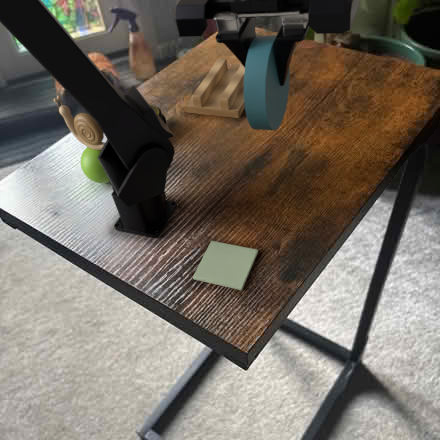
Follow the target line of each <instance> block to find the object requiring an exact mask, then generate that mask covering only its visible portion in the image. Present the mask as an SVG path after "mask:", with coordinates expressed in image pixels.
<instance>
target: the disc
mask: <svg viewBox="0 0 440 440" xmlns="http://www.w3.org/2000/svg"><path fill="white" fill-rule="evenodd" d="M276 36H277V34H266V35H265V34H264V35H263V34H261V35H256V37H255V38H254V39H253V41H252V43H251V45H250V48H249V51H248V55H247V59H246V65H245V72H244V105H245V108H244V111H245V116H246V120H247V122H248V124H249V126H250V127H251V129H253V130H259V131H277V130H278V129H279V128H280V127H281V125H282V123H283V119H284V117H285V114H286V111H287V105H288V100H289V91H290V72H291V69H290V66H289V70H288V74H287V78H286V82H285V84H284V86H280V82H279V78H278V68H277V54H276V41H275V38H276Z"/></svg>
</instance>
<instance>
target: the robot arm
mask: <svg viewBox="0 0 440 440" xmlns="http://www.w3.org/2000/svg"><path fill="white" fill-rule="evenodd" d="M360 1H361V0H179V1H178V3H177V4H176V5H175V7H174V9H173V15H172V16H173V17H172V20H173V24H174V27H175V31H176V34H177V35H178V37H179V38H184V37H186V38H187V37H188V38H189V37H203V34H204V33H205V32H206V30H207V28H208V27H209V24H208V20H213V22H215V24H216V30H217V33H216V35H215V41H216V43H218V44H223V45H225V47H226V48H227V49H228V50H229V51H230V52H231V53H232V54H233V55H234V57H235V58H236V59H237V60H238V61H239V62H240V64H242V65H243V66H244V68H245V65H246V59H247V55H248V51H249V48H250V45H251V43H252V41H253V39H254V38H255V37H256V36H257V33H256V18H280V23H282V24H281V26H280V27H279V30H278V32H277V34H276V35H277V36H276V38H275V41H276V54H277V68H278V78H279V82H280V86H284V84H285V82H286V78H287V74H288V70H289V67H290V65H291V62H292V57H293V53H294V50H295V46H296V44H297V43H300V42H303V41H304V40H305V39H306V37H307V35H308V32H309V30H310V29H311V30H312V31H314V33H315V34H317V35H322V34H323V35H324V34H325V35H326V34H327V35H328V34H330V35H331V34H344V33H347V32H349V31H351V29H352V26H353V24H354V20H355V18H356V16H357V12H358V8H359V5H360ZM0 24H1V25H2V26H3V27H4V28H5V29H6V30H7V31H8V32H9V33H10V34H11V35H12V36H13V37H14V39H15V40H16V41H18V43H20V45H21V46H22V47H24V49H25V50H26V51H27V52H28V53H29V54H30V55H31V56H32V57H33V58H34V59H35V60H36V61H37V63H39V64H40V65H41V66H42V67H43V68H44V69H45V70H46V71H47V73H48V74H50V76H51V77H52V78H53V79H54V80H55V81H56V83H58V84H59V85H60V86H61V87H62V88H63V89H64V90H65V91H66V92H67V93H68V94H69V95H70V96H71V97H72V99H74V101H75V102H76V103H77V104H78V105H79V106H80V107H81V108H82V109H83V110H84V111H85V113H87V114H89V115H90V116H91V117H92V118H93V119H94V120H95V121H96V122H97V124H98V125H99V127H100V128H101V130H102V131H103V133H104V136H105V138H106V141H105V144H104V146H103V148H102V150H101V152H100V154H99V156H98V160H99V162H100V163H101V165H102V167H103V169H104V171H105V173H106V175H107V176H108V178H109V180H110V182H109V183H110V185H111V189H112V192H111V197H112V200H113V202H114V205H115V206H116V210H117V213H118V216H119V217H118V219H117V220H116V222H115V223H114V225H113V228H114V230H116V231H118V232H123V233H128V234H133V235H137V236H142V237H147V238H152V239H158V238H160V236H161V235H162V234H163V232H164V230H165V228H166V226H168V223H169V222H170V220H171V218H172V217H173V215H174V213H175V212H176V210H177V208H178V203H177V201H174V200H169V199H167V196H166V195H167V194H166V184H167V178H168V171H169V168H170V167H171V165H172V163H173V161H174V156H175V154H176V150H175V147H174V145H173V143H172V141H171V139H172V138H174V137H175V134H174V133H173V132H172V131H171V130H170V128H169V127H168V126H167V123H166V124H165V123H164V122H163V121H162V119H161V118H160V117H159V115H158V114H157V113H156V111H155V110H154V109H153V108H152V107H151V106H150V105H151V104H150V103H148V101H147V100H146V99H145V97H144V96H143V94H142V93H141V92H140V91H139V89H138V88H137V87H136V85H135V84H133V85H132V86H131V87H130V88H129V90H128V91H127V92H123V91H122V90H121V89H119V88H118V87H116V86H115V85H114V84H113V83H112V82H111V81H110V80H109V78H107V76H106V75H105V74H104V73H103V72H102V70H100V68H99V67H98V66H97V64H96V63H95V62H94V60H92V59H91V58H90V56H89V55H88V54H87V53H86V52H85V51H84V49H83V48H82V47H81V46H80V44H79V43H78V42H77V41H76V40H75V38H73V36H72V35H71V33H70V32H69V31H68V30H67V29H66V28H65V27H64V25H63V24H62V23H61V22H60V20H58V18H57V17H56V15H54V14H53V13H52V11H51V10H50V9H49V8H48V7H47V5H46V4H45V3H44V2H43V1H42V0H0Z"/></svg>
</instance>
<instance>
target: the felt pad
mask: <svg viewBox="0 0 440 440" xmlns="http://www.w3.org/2000/svg"><path fill="white" fill-rule="evenodd" d="M258 253H259V249H256V248H251V247H245V246H240V245H235V244H231V243H226V242H220V241H216V240H211V241H210V243H209V245H208V247H207V248H206V250H205V253H204V254H203V256H202V258H201V260H200V262H199V265H198V267H197V268H196V269H195V272H194V274H193V276H192V279H193V280H194V281H199V282H204V283H207V284H213V285H217V286H221V287H225V288H229V289H234V290H238V291H243V289H244V287H245V284H246V282H247V279H248V277H249V275H250V274H251V273H250V272H251V270H252V267H253V265H254V263H255V260H256V258H257V256H258Z"/></svg>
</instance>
